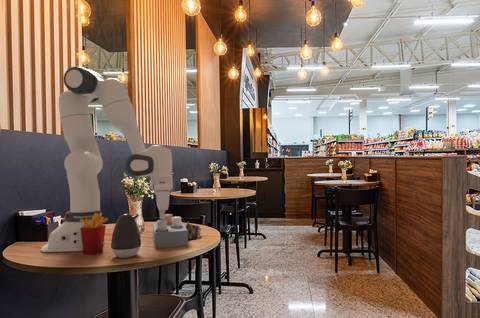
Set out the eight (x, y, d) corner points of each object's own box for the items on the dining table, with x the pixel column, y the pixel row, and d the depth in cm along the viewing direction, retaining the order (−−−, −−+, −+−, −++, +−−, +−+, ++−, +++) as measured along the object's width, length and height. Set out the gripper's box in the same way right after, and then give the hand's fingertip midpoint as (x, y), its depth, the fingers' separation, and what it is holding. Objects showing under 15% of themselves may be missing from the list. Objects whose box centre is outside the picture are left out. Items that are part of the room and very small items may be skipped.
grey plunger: (157, 234, 132) (156, 221, 132) (156, 232, 136) (156, 220, 136) (167, 233, 133) (167, 221, 133) (166, 231, 137) (166, 219, 137)
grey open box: (154, 248, 130) (154, 232, 130) (153, 236, 152) (153, 223, 152) (187, 245, 134) (187, 230, 134) (181, 234, 156) (181, 221, 156)
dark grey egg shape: (147, 254, 121) (147, 212, 121) (123, 261, 112) (122, 216, 112) (129, 250, 126) (129, 210, 127) (105, 257, 118) (104, 214, 118)
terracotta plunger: (163, 226, 148) (163, 215, 148) (163, 225, 152) (163, 214, 152) (172, 226, 149) (172, 215, 150) (172, 224, 153) (172, 213, 153)
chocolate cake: (202, 241, 143) (205, 219, 152) (186, 238, 141) (190, 215, 150) (196, 252, 149) (199, 230, 158) (180, 249, 147) (184, 227, 156)
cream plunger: (172, 230, 141) (172, 218, 141) (171, 228, 144) (171, 216, 144) (181, 229, 142) (181, 217, 142) (180, 227, 146) (180, 216, 146)
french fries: (79, 255, 121) (79, 213, 122) (92, 249, 130) (92, 210, 130) (101, 255, 120) (101, 214, 120) (113, 249, 128) (113, 210, 129)
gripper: (153, 183, 144) (153, 215, 144) (154, 186, 124) (154, 223, 124) (167, 183, 146) (168, 214, 145) (171, 185, 126) (172, 222, 126)
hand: (162, 219), depth 135 cm, fingers closed
